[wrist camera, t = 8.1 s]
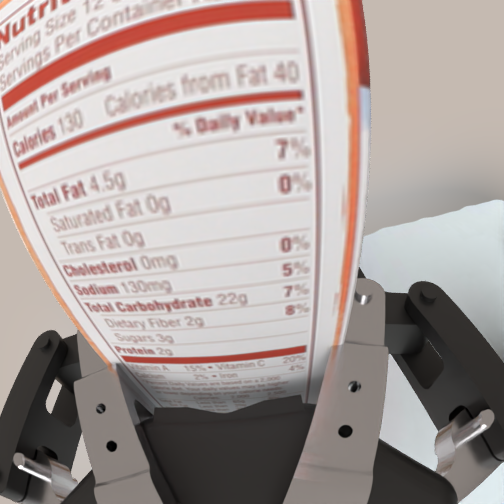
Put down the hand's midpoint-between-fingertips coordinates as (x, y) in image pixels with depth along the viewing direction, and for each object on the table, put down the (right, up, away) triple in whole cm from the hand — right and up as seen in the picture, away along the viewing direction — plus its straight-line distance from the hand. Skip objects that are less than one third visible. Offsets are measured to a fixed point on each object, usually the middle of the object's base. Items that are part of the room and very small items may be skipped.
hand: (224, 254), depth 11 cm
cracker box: (+1, -9, +8) cm, 12 cm away
